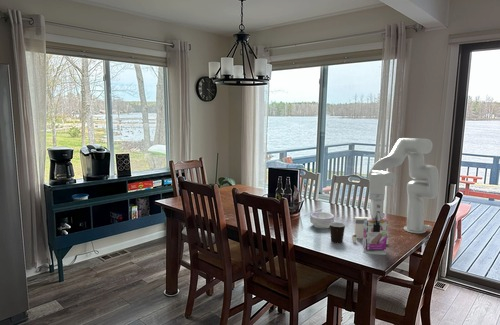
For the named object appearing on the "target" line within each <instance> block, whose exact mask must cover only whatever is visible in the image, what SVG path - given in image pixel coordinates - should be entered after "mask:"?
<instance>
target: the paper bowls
mask: <svg viewBox="0 0 500 325" xmlns="http://www.w3.org/2000/svg"><path fill="white" fill-rule="evenodd" d="M309 221H310V222H309V223H311V224H312V225H313V226H314V227H315V228H316V229H324V230H325V229H330V223H333V222H335V216H334V214H333V213H330V212H326V211H315V212H312V213H311V212H310V217H309Z"/></svg>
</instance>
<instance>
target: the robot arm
mask: <svg viewBox="0 0 500 325" xmlns="http://www.w3.org/2000/svg"><path fill="white" fill-rule="evenodd" d="M432 150H433V142H432V140H431V139H429V138H418V137H416V138H413V137H401V138H398V139H397V140H396V141H395V143H394V145H393V147H392V149H391V150H390V152H389V153H388V155H386V156H384V157H383V158H380V159H379V160H377V161H376V162H375V163H374V164H373V165H372V167H371V169H370V170H369V172H368V176H367V178H368V179H367V180H368V181H369V190H368V200H370V202H369V203H370V206H369V215H370V217H371V218H373V219H374V226H373V232H380V218H381V219H383V218H384V201H385V193H386V192H385V188H386V187H391V186H394V185H395V184H396V182H397V179H398V177H397V175H396V173H395V172H392V171H386V170H387V169H391V168H395V167H398V166H401V165H402V164H404V161H405V160H406V158H408V175H409V177H410V178H411V179H413V180H409V182H407V184H406V192H407V193H406V194H407V207H406V225H404V226H403V231H405V232H408V233H412V234H425V233H426V230H427V229H428V230H429V229H430V230H432V229H433V228H432V225H428V224H425V223H424V222H425V221H424V220H425V219H424V218H425V201H424V199H425V198H426V199H436V198H437V197H438V195H439V190H440V189H439V188H440V187H439V183H440V182H439V174H440V173H439V170H438V167H437V166H436V165H432V164H426V163H425V155H427V154H430V153H431V151H432ZM423 198H424V199H423ZM375 218H377V219H375ZM376 220H377V221H376Z"/></svg>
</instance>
